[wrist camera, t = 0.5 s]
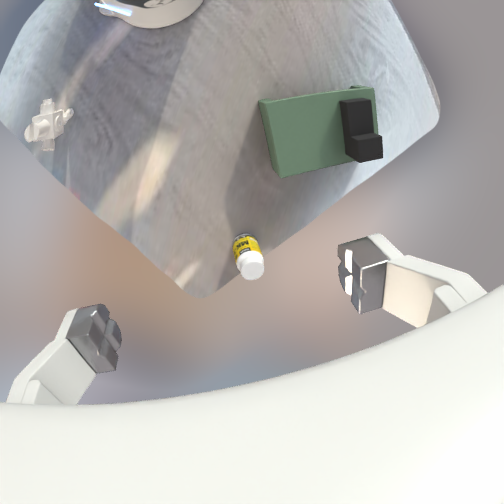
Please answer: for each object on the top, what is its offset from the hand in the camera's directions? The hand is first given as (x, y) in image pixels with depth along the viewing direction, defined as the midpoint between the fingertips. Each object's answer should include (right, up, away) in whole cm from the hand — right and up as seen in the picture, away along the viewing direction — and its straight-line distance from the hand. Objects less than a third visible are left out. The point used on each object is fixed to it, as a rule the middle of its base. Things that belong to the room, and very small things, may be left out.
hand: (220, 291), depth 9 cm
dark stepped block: (+17, +21, +32) cm, 42 cm away
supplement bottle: (0, +3, +46) cm, 46 cm away
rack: (+12, +23, +36) cm, 44 cm away
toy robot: (-29, +23, +26) cm, 45 cm away
